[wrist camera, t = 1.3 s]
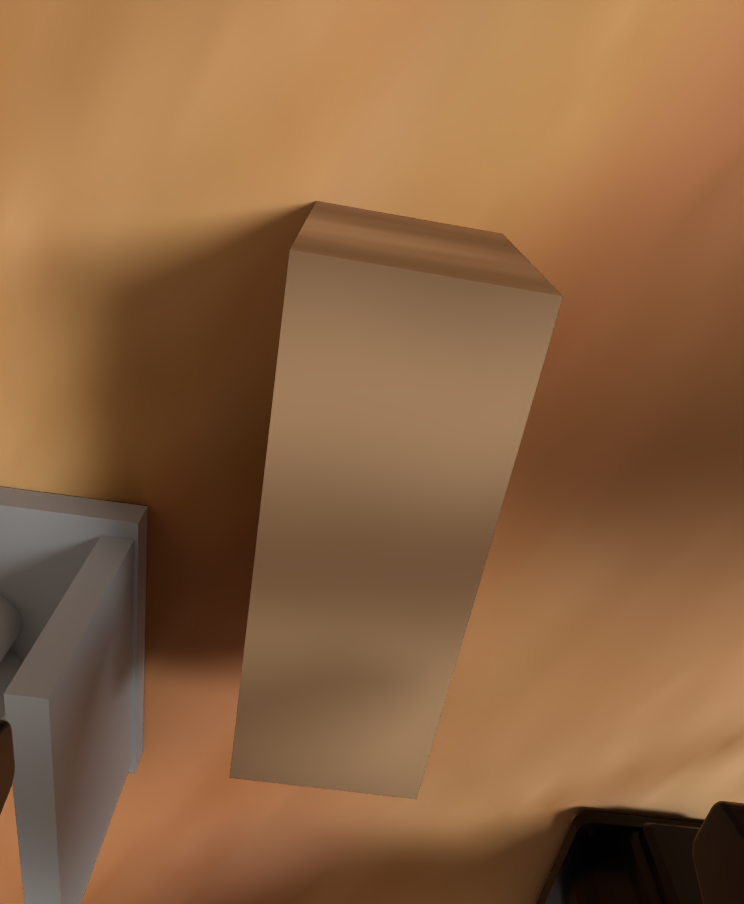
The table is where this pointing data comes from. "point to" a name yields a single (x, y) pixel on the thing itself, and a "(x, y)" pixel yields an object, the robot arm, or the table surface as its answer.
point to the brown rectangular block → (381, 490)
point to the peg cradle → (70, 675)
